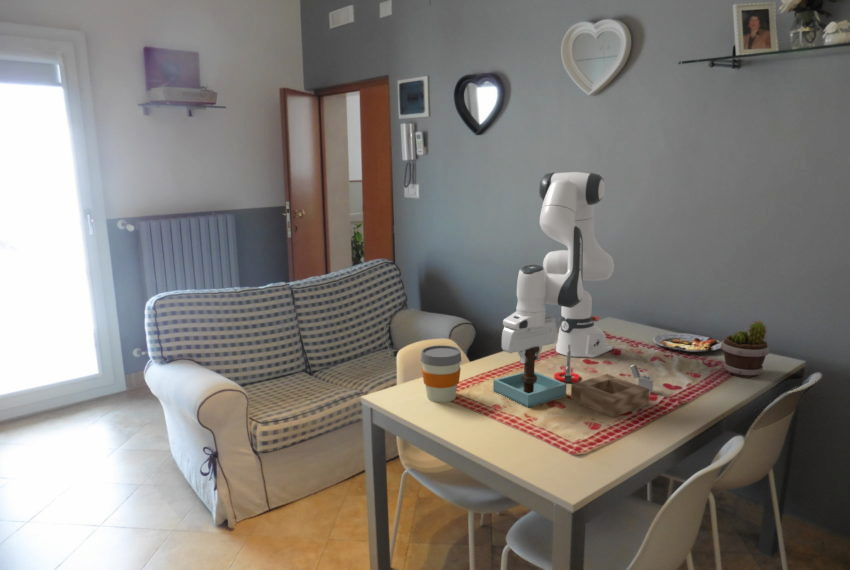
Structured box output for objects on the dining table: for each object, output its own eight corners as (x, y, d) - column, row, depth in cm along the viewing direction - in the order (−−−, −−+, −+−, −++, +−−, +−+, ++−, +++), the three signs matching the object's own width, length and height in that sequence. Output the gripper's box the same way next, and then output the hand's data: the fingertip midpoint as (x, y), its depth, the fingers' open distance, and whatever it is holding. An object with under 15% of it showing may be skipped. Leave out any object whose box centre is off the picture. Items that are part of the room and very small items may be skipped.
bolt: (540, 393, 190) (542, 347, 187) (527, 396, 188) (529, 349, 185) (529, 387, 195) (530, 342, 192) (516, 390, 193) (517, 344, 190)
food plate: (732, 346, 237) (733, 337, 236) (708, 360, 221) (708, 351, 221) (670, 335, 255) (670, 327, 254) (643, 348, 239) (643, 339, 239)
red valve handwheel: (553, 374, 210) (555, 382, 201) (554, 338, 208) (556, 344, 199) (578, 375, 209) (581, 384, 200) (579, 339, 207) (582, 345, 198)
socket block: (606, 388, 195) (606, 374, 194) (648, 404, 182) (649, 388, 181) (570, 399, 186) (571, 384, 185) (612, 417, 173) (613, 401, 172)
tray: (530, 381, 202) (530, 369, 202) (565, 396, 189) (566, 384, 189) (493, 391, 194) (493, 379, 193) (527, 407, 181) (528, 395, 180)
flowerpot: (711, 373, 207) (716, 317, 203) (728, 363, 218) (733, 308, 214) (758, 384, 197) (764, 324, 193) (773, 372, 207) (779, 315, 203)
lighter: (652, 392, 192) (654, 367, 190) (650, 393, 191) (651, 369, 189) (630, 386, 196) (632, 363, 195) (628, 388, 195) (629, 364, 194)
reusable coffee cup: (468, 393, 192) (468, 348, 189) (449, 407, 182) (449, 359, 179) (434, 387, 199) (433, 343, 196) (413, 400, 188) (413, 353, 185)
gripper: (547, 311, 195) (546, 353, 197) (498, 320, 184) (498, 364, 186) (562, 315, 190) (560, 357, 192) (512, 325, 179) (511, 370, 181)
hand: (529, 361), depth 189 cm, fingers closed on bolt, 3 cm apart
